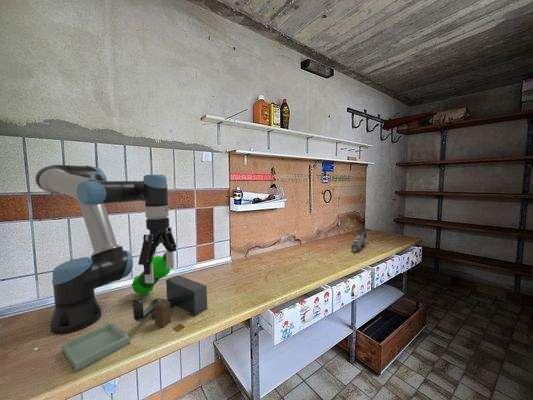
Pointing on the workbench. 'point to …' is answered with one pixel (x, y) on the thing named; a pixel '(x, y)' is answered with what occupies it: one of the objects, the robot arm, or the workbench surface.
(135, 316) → the crank
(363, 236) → the hydraulic cylinder
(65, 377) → the workbench surface
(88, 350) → the tray
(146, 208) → the robot arm
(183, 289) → the stand
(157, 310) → the wooden block
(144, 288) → the plastic bottle
